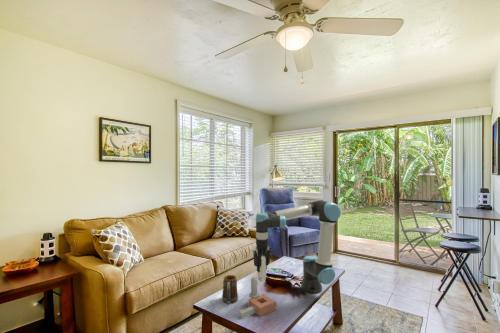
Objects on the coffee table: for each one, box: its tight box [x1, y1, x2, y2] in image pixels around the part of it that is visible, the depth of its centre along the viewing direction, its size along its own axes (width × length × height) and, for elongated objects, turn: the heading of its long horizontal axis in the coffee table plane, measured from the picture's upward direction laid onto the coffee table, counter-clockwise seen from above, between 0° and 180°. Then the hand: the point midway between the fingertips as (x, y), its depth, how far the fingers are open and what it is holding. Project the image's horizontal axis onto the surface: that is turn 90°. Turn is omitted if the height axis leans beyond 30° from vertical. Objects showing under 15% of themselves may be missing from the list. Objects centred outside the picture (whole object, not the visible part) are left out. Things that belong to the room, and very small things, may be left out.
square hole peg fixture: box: [238, 276, 277, 319], centre depth 160 cm, size 22×17×16 cm
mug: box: [221, 274, 239, 305], centre depth 169 cm, size 16×11×15 cm
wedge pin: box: [257, 255, 267, 282], centre depth 161 cm, size 4×3×15 cm
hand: (261, 275), depth 161 cm, fingers closed on wedge pin, 3 cm apart
